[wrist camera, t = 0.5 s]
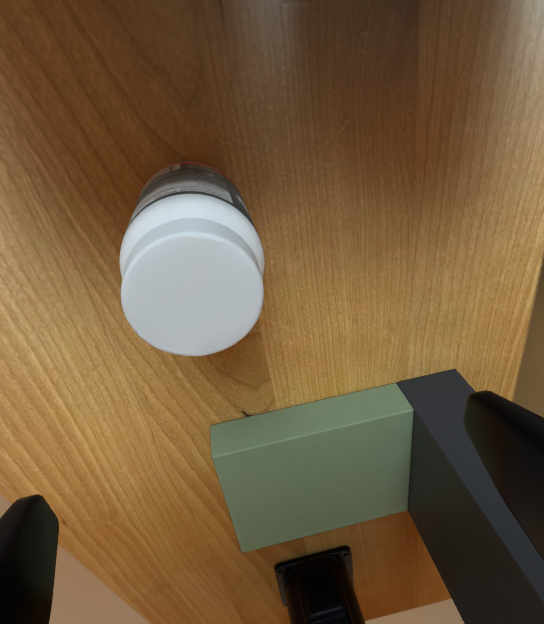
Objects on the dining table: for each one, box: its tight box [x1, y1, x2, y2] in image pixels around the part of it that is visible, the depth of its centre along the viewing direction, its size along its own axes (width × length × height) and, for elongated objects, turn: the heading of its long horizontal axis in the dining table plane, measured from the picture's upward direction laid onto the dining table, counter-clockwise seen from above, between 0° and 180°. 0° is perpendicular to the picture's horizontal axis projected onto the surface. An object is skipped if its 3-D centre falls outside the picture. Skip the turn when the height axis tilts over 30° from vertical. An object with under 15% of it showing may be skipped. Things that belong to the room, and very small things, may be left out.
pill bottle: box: [120, 161, 265, 356], centre depth 15 cm, size 5×5×8 cm
